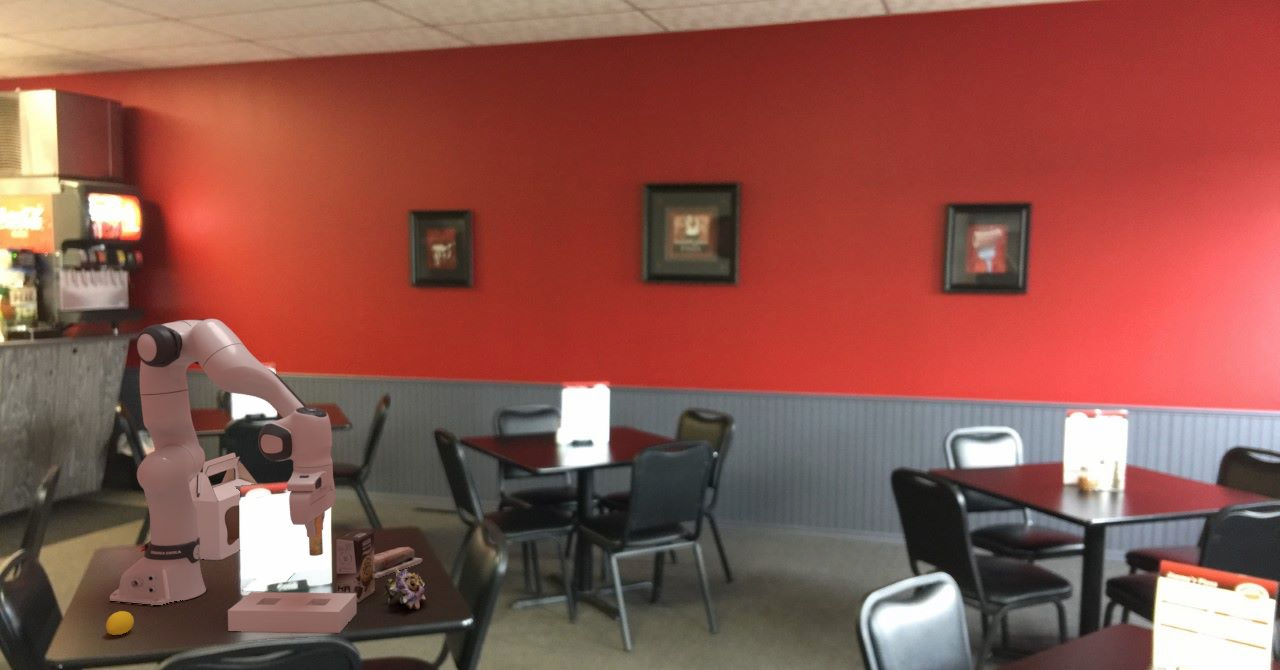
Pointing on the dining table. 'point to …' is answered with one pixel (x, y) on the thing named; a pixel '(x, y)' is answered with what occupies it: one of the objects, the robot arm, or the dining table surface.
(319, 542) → the brass pin
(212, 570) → the dining table surface
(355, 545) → the coffee box
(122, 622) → the lemon
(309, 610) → the socket block
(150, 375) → the robot arm
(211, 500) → the gable box
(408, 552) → the packaged product
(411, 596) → the passion flower
